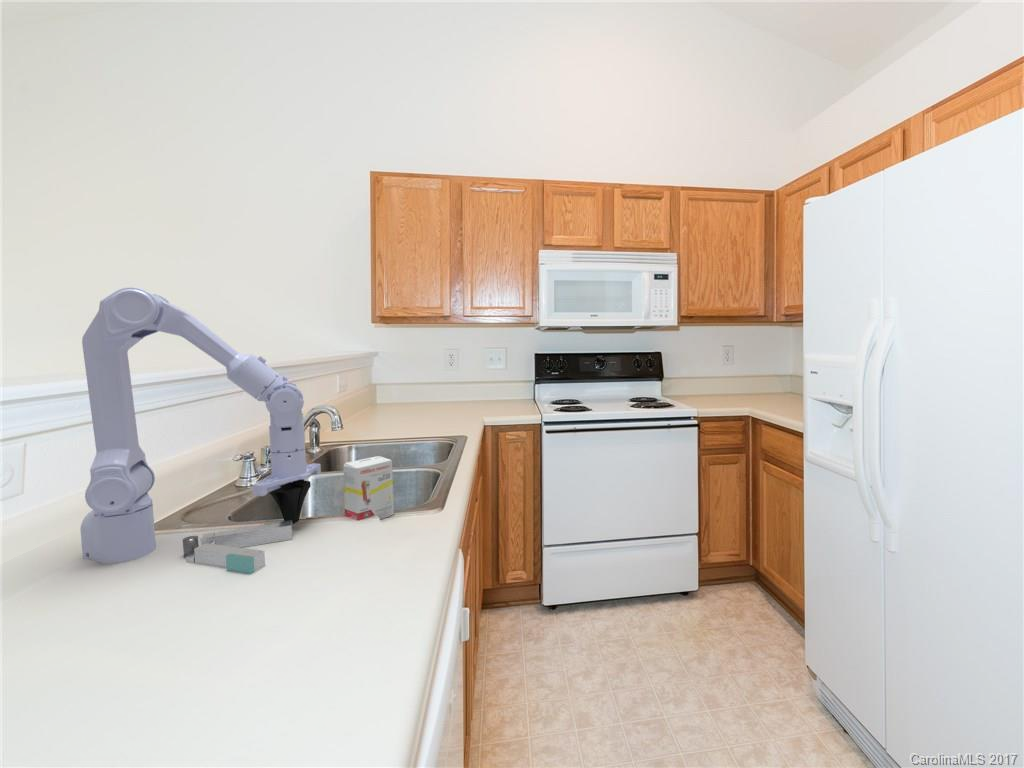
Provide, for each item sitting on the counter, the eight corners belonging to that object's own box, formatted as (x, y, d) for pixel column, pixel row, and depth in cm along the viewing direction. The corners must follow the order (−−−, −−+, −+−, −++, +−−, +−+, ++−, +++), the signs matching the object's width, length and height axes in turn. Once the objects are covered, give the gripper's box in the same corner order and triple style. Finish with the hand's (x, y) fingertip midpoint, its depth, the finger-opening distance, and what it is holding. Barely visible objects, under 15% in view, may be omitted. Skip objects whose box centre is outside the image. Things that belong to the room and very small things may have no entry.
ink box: (358, 528, 86) (355, 467, 85) (344, 522, 89) (341, 463, 88) (395, 515, 92) (393, 458, 92) (381, 510, 96) (379, 455, 95)
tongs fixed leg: (170, 563, 70) (168, 544, 70) (192, 552, 73) (191, 535, 73) (250, 575, 66) (249, 555, 65) (270, 563, 69) (269, 544, 69)
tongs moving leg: (201, 553, 73) (200, 538, 72) (205, 546, 75) (204, 532, 75) (291, 539, 78) (291, 525, 77) (292, 533, 80) (292, 520, 80)
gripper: (275, 460, 74) (279, 540, 75) (332, 442, 88) (335, 510, 89) (241, 458, 76) (245, 536, 77) (302, 441, 90) (305, 507, 91)
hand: (291, 522), depth 83 cm, fingers closed
